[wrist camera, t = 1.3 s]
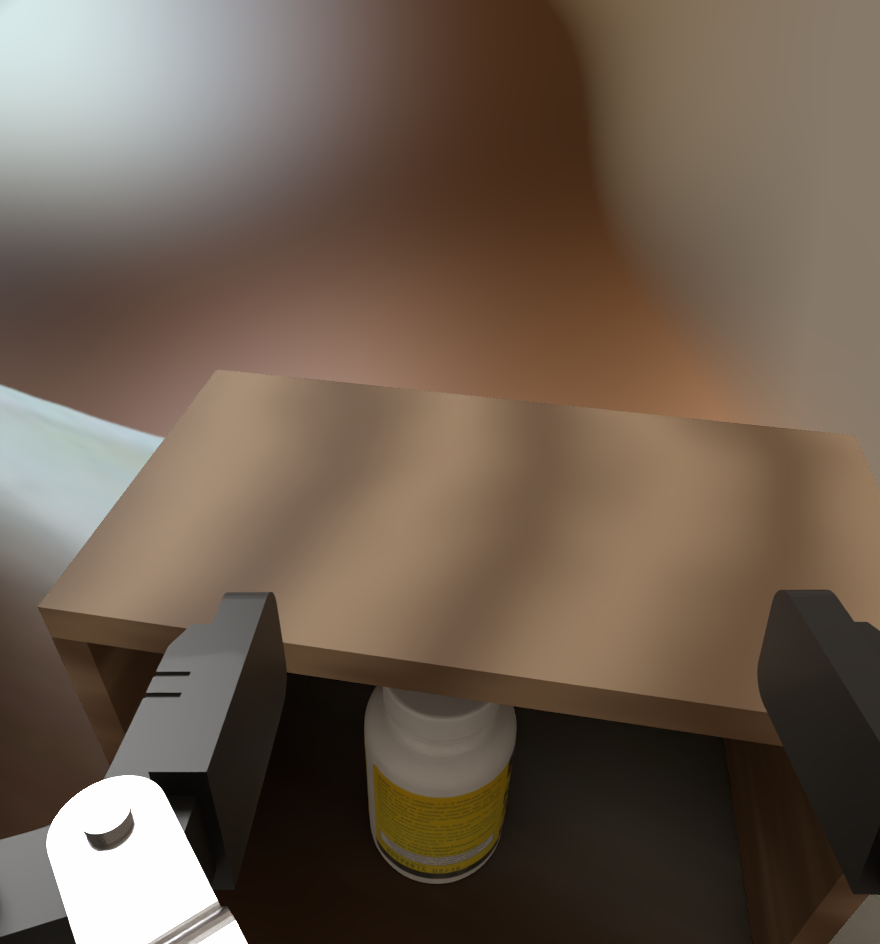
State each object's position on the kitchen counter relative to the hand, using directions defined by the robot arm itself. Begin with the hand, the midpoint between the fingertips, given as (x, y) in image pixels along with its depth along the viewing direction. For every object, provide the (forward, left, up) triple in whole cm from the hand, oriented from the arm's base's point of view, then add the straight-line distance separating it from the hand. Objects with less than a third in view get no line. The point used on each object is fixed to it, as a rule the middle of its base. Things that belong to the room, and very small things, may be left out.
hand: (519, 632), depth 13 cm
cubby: (-1, +9, -21) cm, 23 cm away
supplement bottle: (-2, +7, -21) cm, 22 cm away
